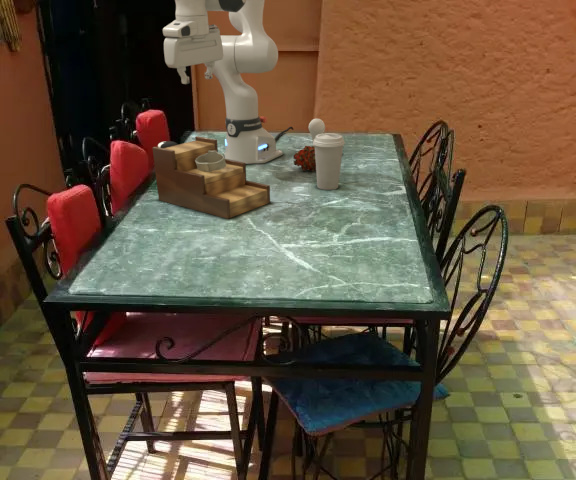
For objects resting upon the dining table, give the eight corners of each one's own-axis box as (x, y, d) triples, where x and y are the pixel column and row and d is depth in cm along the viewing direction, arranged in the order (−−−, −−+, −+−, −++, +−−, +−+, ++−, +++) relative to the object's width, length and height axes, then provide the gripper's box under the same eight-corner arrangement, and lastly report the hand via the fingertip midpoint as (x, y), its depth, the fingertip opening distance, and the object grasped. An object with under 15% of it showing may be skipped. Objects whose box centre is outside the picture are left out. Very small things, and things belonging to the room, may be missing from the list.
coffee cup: (345, 190, 194) (347, 139, 186) (314, 191, 193) (315, 140, 185) (340, 182, 202) (342, 132, 194) (310, 183, 201) (311, 133, 193)
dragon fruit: (322, 178, 211) (295, 178, 218) (333, 159, 213) (306, 158, 220) (310, 160, 204) (283, 160, 212) (322, 139, 206) (294, 140, 214)
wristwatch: (230, 168, 182) (229, 150, 180) (219, 174, 178) (218, 155, 175) (203, 165, 186) (201, 147, 183) (191, 170, 181) (189, 152, 178)
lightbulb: (316, 147, 242) (316, 116, 236) (327, 149, 238) (328, 118, 232) (304, 149, 239) (305, 118, 232) (316, 152, 235) (316, 120, 229)
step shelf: (202, 186, 199) (198, 136, 191) (270, 202, 185) (268, 149, 176) (158, 200, 188) (152, 147, 180) (227, 218, 173) (224, 162, 165)
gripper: (210, 23, 185) (214, 75, 193) (157, 29, 172) (164, 85, 180) (226, 24, 182) (229, 77, 190) (173, 30, 169) (179, 87, 177)
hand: (197, 81), depth 185 cm, fingers open, 8 cm apart
